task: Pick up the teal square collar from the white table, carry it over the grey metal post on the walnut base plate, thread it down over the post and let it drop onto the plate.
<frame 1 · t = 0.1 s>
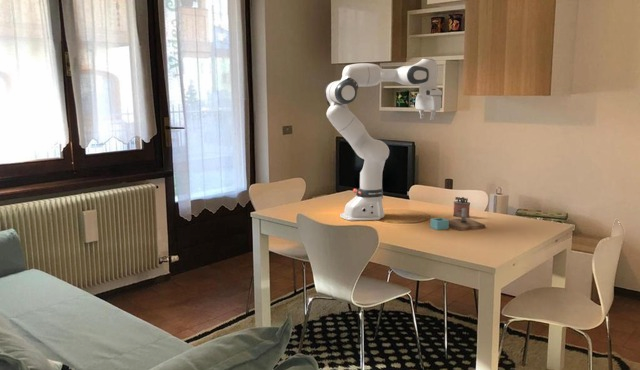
hand: (427, 119, 286), 48 cm above the table, tool pointing down, fingers open, 8 cm apart
collar: (439, 228, 260), on the table
lighter: (461, 217, 282), on the table
post base: (463, 225, 264), on the table
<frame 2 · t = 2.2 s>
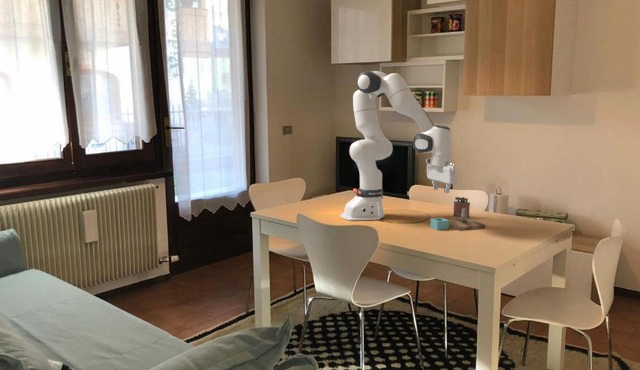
hand: (441, 191, 258), 17 cm above the table, tool pointing down, fingers open, 8 cm apart
nothing on the table moved.
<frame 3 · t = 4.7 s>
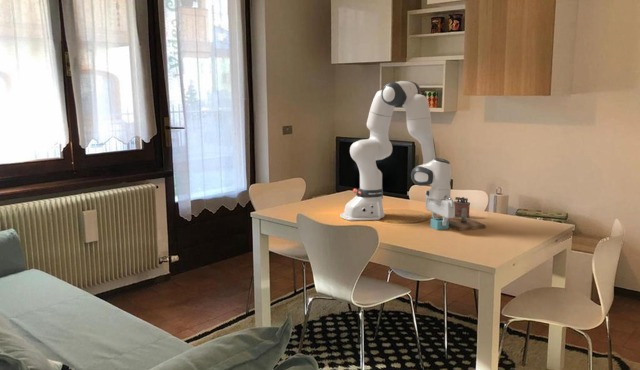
hand: (439, 223, 259), 2 cm above the table, tool pointing down, fingers closed on collar, 6 cm apart
collar: (439, 228, 260), on the table, touching gripper
everything else where it was.
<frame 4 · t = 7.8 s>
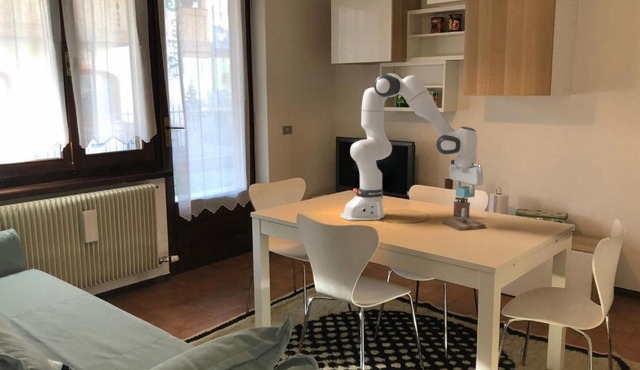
hand: (465, 191, 261), 16 cm above the table, tool pointing down, fingers closed on collar, 6 cm apart
collar: (465, 196, 262), point 14 cm above the table, touching gripper
everything else where it was.
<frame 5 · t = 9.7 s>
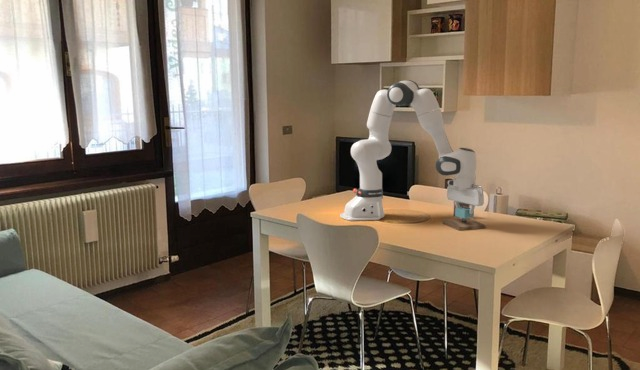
hand: (464, 212, 263), 7 cm above the table, tool pointing down, fingers closed on collar, 6 cm apart
collar: (464, 216, 263), point 4 cm above the table, touching gripper
everything else where it was.
when the fingers open (6 cm above the table, at t = 11.2 s): collar drops 2 cm, resting on post base.
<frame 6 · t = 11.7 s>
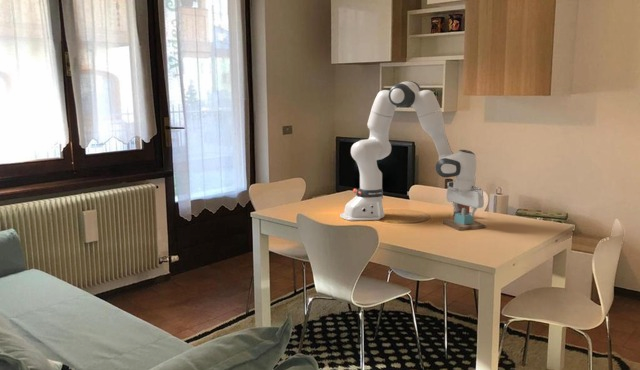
hand: (464, 214, 263), 6 cm above the table, tool pointing down, fingers open, 8 cm apart
collar: (463, 222, 264), point 1 cm above the table, touching post base
everything else where it was.
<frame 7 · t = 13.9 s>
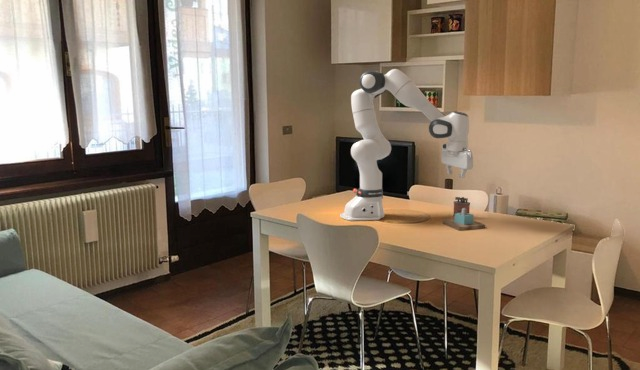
hand: (455, 175, 265), 23 cm above the table, tool pointing down, fingers open, 8 cm apart
nothing on the table moved.
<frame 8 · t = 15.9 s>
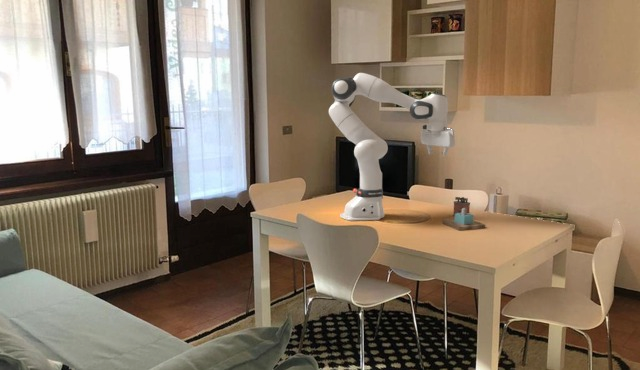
hand: (437, 154, 277), 31 cm above the table, tool pointing down, fingers open, 8 cm apart
nothing on the table moved.
at the end: collar 0.0 cm off-centre on the post base, point 1.5 cm above the post base's base; collar tilted 0°; the gripper is holding nothing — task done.
